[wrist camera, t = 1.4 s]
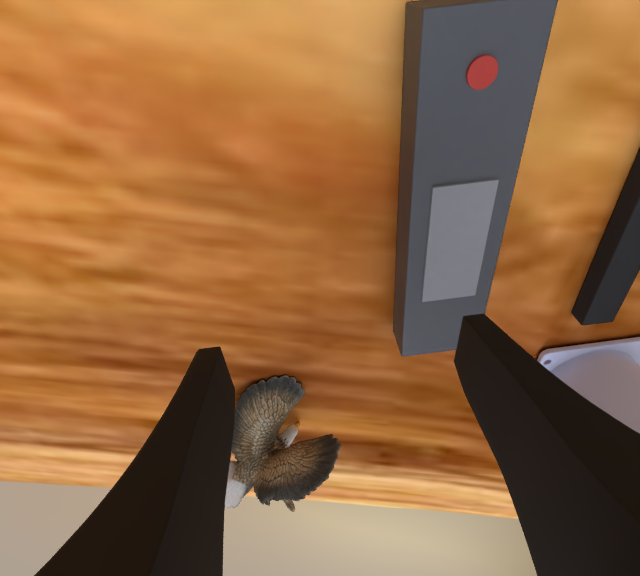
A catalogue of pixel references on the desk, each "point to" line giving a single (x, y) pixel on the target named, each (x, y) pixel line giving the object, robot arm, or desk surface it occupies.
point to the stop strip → (614, 258)
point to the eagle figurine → (275, 447)
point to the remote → (460, 155)
